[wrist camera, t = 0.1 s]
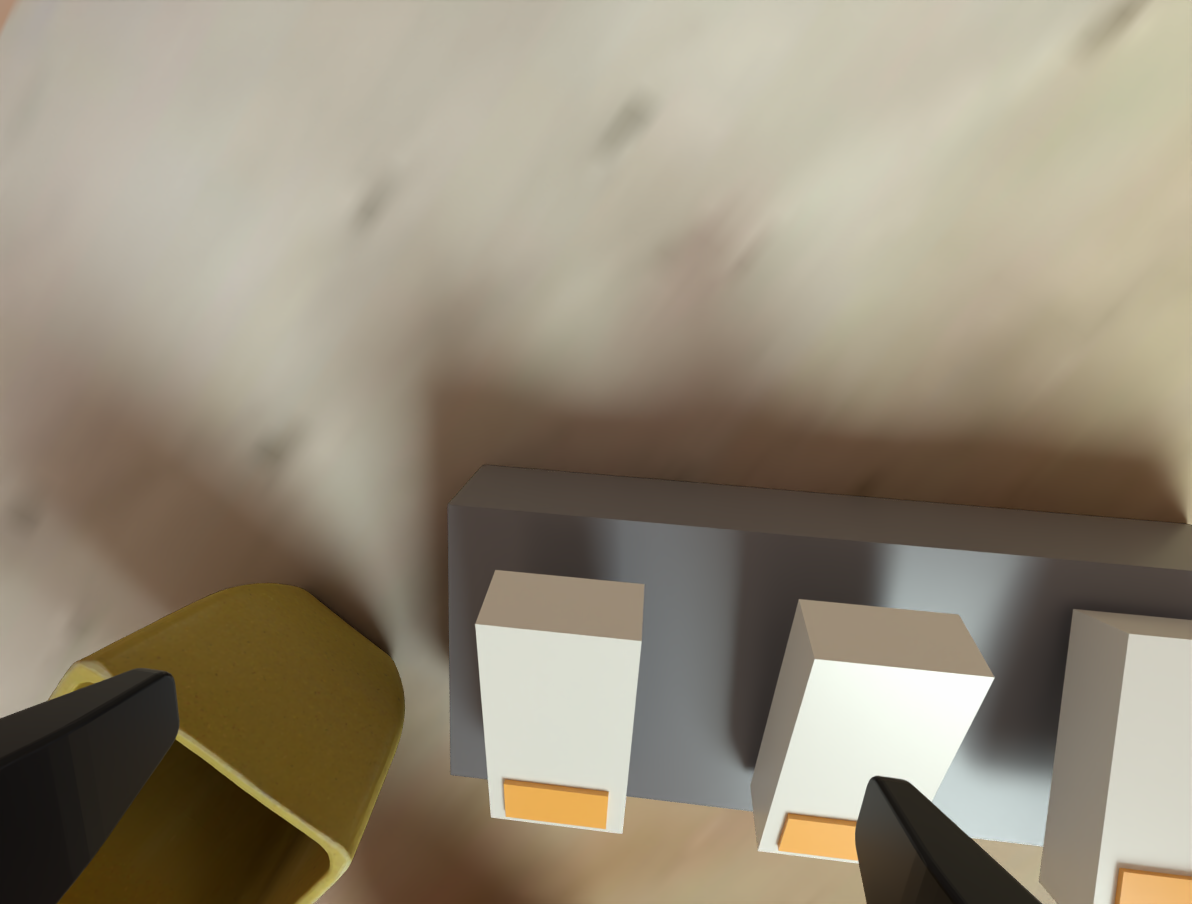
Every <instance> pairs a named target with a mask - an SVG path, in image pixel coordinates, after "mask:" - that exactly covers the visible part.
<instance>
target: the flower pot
mask: <svg viewBox="0 0 1192 904" xmlns="http://www.w3.org/2000/svg"><path fill="white" fill-rule="evenodd" d="M136 668H149V669H155V670H162V671H167V672H169V673H171V675H172V676H173V677H174V680H175V685H176V694H177V703H178V712H179V722H180V724H179V730H178V734H177V736H176V739H175V741H174V743H173V744H172V746H171V747H170V749H169V750H168V752H167V753H166V755H165V756H164V758H163V759H162V760H161V762H160V763H159V765H158V766H157V768H156V769H155V771H154V772H153V773H152V775H151V776H150V778H149V779H148V781H147V782H146V783H145V785H144V786H143V788H142V789H141V791H140V792H139V794H138V795H137V796H136V798H135V799H134V801H133V802H132V804H131V805H130V807H129V808H128V809H127V811H126V812H125V814H124V815H123V817H122V818H121V820H120V821H119V822H118V824H117V825H116V827H115V828H114V830H113V831H112V833H111V834H110V835H109V837H108V838H107V840H106V841H105V843H104V844H103V845H102V847H101V848H100V849H99V851H98V852H97V853H96V855H95V856H94V858H93V859H92V860H91V862H90V863H89V864H88V866H87V867H86V868H85V869H84V871H83V872H82V873H81V875H80V876H79V877H78V878H77V880H76V881H75V882H74V883H73V885H72V886H71V887H70V888H69V890H68V891H67V892H66V893H65V894H64V896H63V897H62V898H61V899H60V901H59V902H58V903H57V904H313V903H315V902H316V901H317V899H319V898H320V897H321V896H322V895H323V894H324V893H325V892H326V891H327V890H328V889H329V888H330V887H331V886H332V885H334V883H335V882H336V881H337V880H338V879H339V878H340V877H341V876H342V875H343V873H344V872H345V871H346V870H347V869H348V867H349V866H350V864H351V862H352V859H353V857H354V855H355V852H356V850H357V847H358V845H359V842H360V840H361V838H362V835H363V833H364V830H365V828H366V825H367V823H368V820H369V818H370V815H371V813H372V810H373V808H374V805H375V803H376V800H377V798H378V795H379V793H380V790H381V788H382V785H383V783H384V780H385V778H386V775H387V772H388V770H389V767H390V765H391V762H392V760H393V757H394V755H395V752H396V749H397V746H398V743H399V740H400V736H401V732H402V728H403V723H404V714H405V700H404V691H403V686H402V682H401V678H400V675H399V672H398V670H397V667H396V665H395V663H394V661H393V660H392V659H391V657H390V656H389V655H388V654H386V653H385V652H384V651H382V650H381V649H380V648H378V647H377V646H376V645H374V644H373V643H372V642H371V641H369V640H368V639H367V638H365V637H364V636H363V635H361V634H360V633H359V632H358V631H356V630H355V629H354V628H352V627H351V626H350V625H348V624H347V623H346V622H345V621H344V620H342V619H341V618H340V617H339V616H337V615H336V614H335V613H334V612H332V611H331V610H330V609H329V608H327V607H326V606H325V605H324V604H322V603H321V602H320V601H319V600H318V599H316V598H315V597H314V596H313V595H311V594H310V593H309V592H307V591H306V590H304V589H302V588H299V587H296V586H291V585H285V584H277V583H256V584H247V585H241V586H236V587H232V588H228V589H225V590H222V591H219V592H216V593H214V594H211V595H209V596H207V597H205V598H202V599H200V600H198V601H196V602H194V603H192V604H190V605H187V606H185V607H183V608H181V609H179V610H177V611H175V612H173V613H171V614H169V615H167V616H165V617H163V618H161V619H159V620H157V621H156V622H154V623H152V624H150V625H148V626H146V627H144V628H142V629H140V630H138V631H136V632H134V633H132V634H130V635H128V636H126V637H124V638H122V639H120V640H118V641H116V642H114V643H112V644H110V645H108V646H106V647H104V648H102V649H101V650H99V651H97V652H95V653H93V654H91V655H89V656H87V657H85V658H83V659H81V660H79V661H77V662H75V663H74V664H73V665H72V666H71V667H70V668H69V669H68V671H67V672H66V673H65V675H64V677H63V678H62V679H61V681H60V682H59V684H58V686H57V687H56V689H55V690H54V692H53V693H52V695H51V696H50V698H49V699H48V701H49V700H51V699H54V698H57V697H59V696H62V695H65V694H68V693H70V692H73V691H76V690H78V689H81V688H84V687H86V686H89V685H92V684H94V683H97V682H100V681H103V680H105V679H108V678H111V677H113V676H116V675H119V674H121V673H124V672H127V671H130V670H132V669H136Z"/></svg>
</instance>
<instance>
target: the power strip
mask: <svg viewBox="0 0 1192 904" xmlns="http://www.w3.org/2000/svg"><path fill="white" fill-rule="evenodd" d="M495 570H502V571H512V572H523V573H533V574H543V575H554V576H564V577H575V578H585V579H595V580H606V581H616V582H627V583H637V584H644V604H643V624H642V643H641V653H640V663H639V673H638V683H637V693H636V703H635V713H634V723H633V733H632V743H631V753H630V763H629V773H628V783H627V793H626V796H629V797H637V798H646V799H654V800H662V801H670V802H679V803H687V804H695V805H704V806H712V807H720V808H728V809H737V810H745V811H753V806H752V798H751V789H750V785H751V781H752V777H753V773H754V769H755V765H756V762H757V758H758V754H759V750H760V746H761V742H762V739H763V735H764V731H765V727H766V723H767V719H768V716H769V712H770V708H771V704H772V700H773V696H774V692H775V689H776V685H777V681H778V677H779V673H780V669H781V666H782V662H783V658H784V654H785V650H786V646H787V643H788V639H789V635H790V631H791V627H792V623H793V620H794V616H795V612H796V608H797V604H798V600H799V599H803V600H814V601H824V602H834V603H845V604H855V605H866V606H876V607H886V608H897V609H907V610H918V611H928V612H938V613H949V614H959V616H960V617H961V619H962V621H963V623H964V624H965V626H966V628H967V630H968V631H969V633H970V635H971V637H972V638H973V640H974V642H975V644H976V645H977V647H978V649H979V651H980V652H981V654H982V656H983V658H984V659H985V661H986V663H987V665H988V667H989V668H990V670H991V672H992V674H993V675H994V677H995V678H994V680H993V682H992V684H991V686H990V688H989V690H988V692H987V694H986V696H985V698H984V700H983V702H982V704H981V706H980V707H979V709H978V711H977V713H976V715H975V717H974V719H973V721H972V723H971V725H970V727H969V729H968V731H967V733H966V735H965V737H964V739H963V741H962V743H961V745H960V747H959V749H958V751H957V753H956V755H955V757H954V759H953V761H952V763H951V764H950V766H949V768H948V770H947V772H946V774H945V776H944V778H943V780H942V782H941V784H940V786H939V788H938V790H937V792H936V794H935V796H934V798H933V800H932V803H933V804H934V805H935V806H936V807H938V808H939V809H940V810H941V811H942V812H943V813H944V814H945V815H946V816H947V817H948V818H949V819H951V820H952V821H953V822H954V823H955V824H956V825H957V826H958V827H959V828H960V829H961V830H963V831H964V832H965V833H966V834H967V835H968V836H969V837H970V838H977V839H985V840H993V841H1001V842H1010V843H1018V844H1026V845H1035V846H1043V844H1044V836H1045V828H1046V820H1047V813H1048V805H1049V797H1050V789H1051V781H1052V773H1053V765H1054V757H1055V749H1056V741H1057V733H1058V725H1059V717H1060V709H1061V701H1062V694H1063V686H1064V678H1065V670H1066V662H1067V654H1068V646H1069V638H1070V630H1071V622H1072V614H1073V609H1079V610H1090V611H1100V612H1111V613H1122V614H1132V615H1143V616H1153V617H1164V618H1174V619H1185V620H1192V525H1190V524H1182V523H1170V522H1158V521H1146V520H1134V519H1122V518H1110V517H1099V516H1087V515H1075V514H1063V513H1051V512H1039V511H1027V510H1015V509H1003V508H991V507H980V506H968V505H956V504H944V503H932V502H920V501H908V500H896V499H884V498H872V497H861V496H849V495H837V494H825V493H813V492H801V491H789V490H777V489H765V488H753V487H742V486H730V485H718V484H706V483H694V482H682V481H670V480H658V479H646V478H634V477H623V476H611V475H599V474H587V473H575V472H563V471H551V470H539V469H527V468H515V467H504V466H492V465H482V467H481V468H480V469H479V470H478V471H477V472H476V473H475V474H474V476H473V477H472V478H471V479H470V480H469V481H468V482H467V483H466V484H465V486H464V487H463V488H462V489H461V490H460V491H459V492H458V493H457V495H456V496H455V497H454V498H453V499H452V500H451V501H450V502H449V504H448V584H449V676H450V768H451V775H455V776H464V777H472V778H480V779H488V774H487V762H486V750H485V738H484V725H483V713H482V701H481V689H480V676H479V664H478V652H477V640H476V628H475V623H476V621H477V618H478V615H479V613H480V610H481V607H482V605H483V602H484V599H485V597H486V594H487V591H488V588H489V586H490V583H491V580H492V578H493V575H494V572H495Z"/></svg>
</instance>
